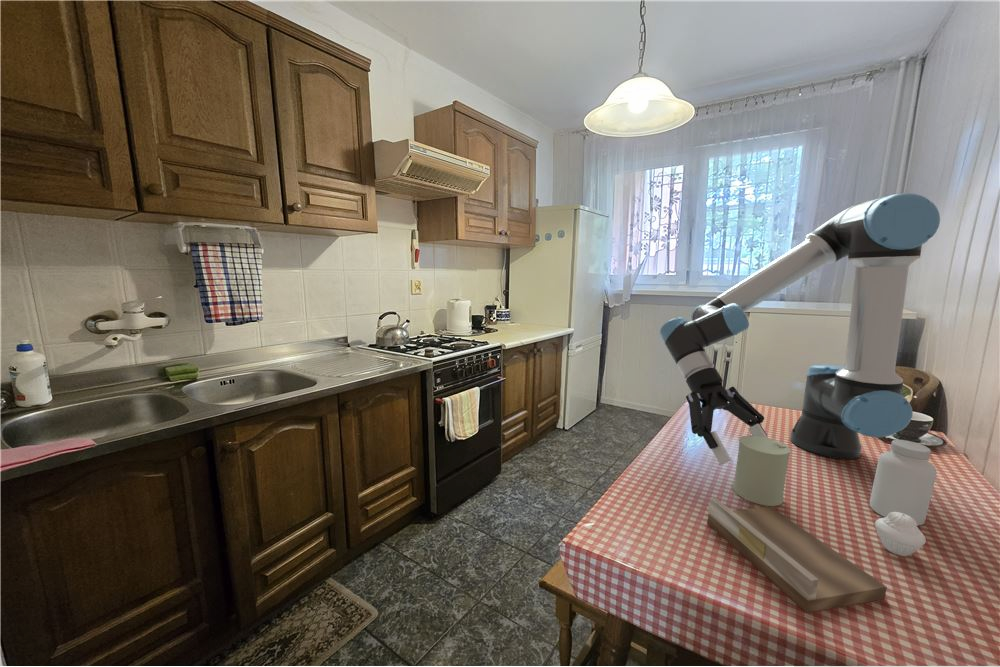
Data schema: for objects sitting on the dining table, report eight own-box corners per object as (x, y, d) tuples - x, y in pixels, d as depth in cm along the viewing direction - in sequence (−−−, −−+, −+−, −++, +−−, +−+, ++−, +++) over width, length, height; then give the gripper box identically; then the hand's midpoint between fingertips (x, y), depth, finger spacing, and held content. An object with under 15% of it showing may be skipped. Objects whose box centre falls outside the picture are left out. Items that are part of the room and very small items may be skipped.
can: (792, 509, 79) (800, 454, 77) (742, 503, 81) (749, 449, 79) (770, 484, 88) (777, 435, 86) (726, 480, 90) (732, 431, 88)
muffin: (925, 553, 67) (933, 517, 66) (916, 568, 64) (924, 530, 63) (877, 533, 72) (884, 499, 71) (866, 545, 69) (873, 509, 68)
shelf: (769, 515, 77) (772, 491, 76) (884, 598, 58) (890, 567, 57) (706, 522, 74) (709, 498, 74) (804, 613, 55) (810, 581, 54)
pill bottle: (916, 532, 73) (932, 458, 70) (861, 508, 80) (874, 440, 77) (932, 520, 76) (947, 449, 74) (878, 498, 83) (891, 433, 81)
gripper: (726, 377, 104) (774, 454, 92) (651, 385, 95) (694, 472, 84) (747, 362, 98) (801, 443, 86) (669, 369, 89) (718, 460, 78)
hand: (748, 457), depth 85 cm, fingers open, 13 cm apart
